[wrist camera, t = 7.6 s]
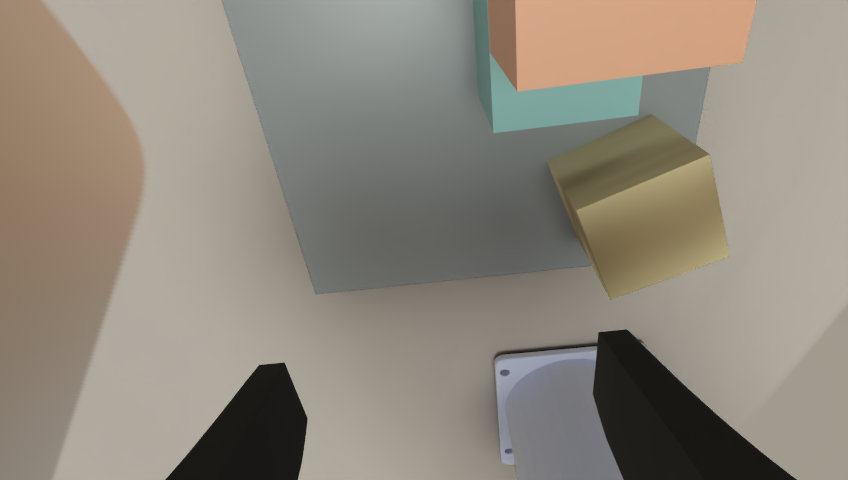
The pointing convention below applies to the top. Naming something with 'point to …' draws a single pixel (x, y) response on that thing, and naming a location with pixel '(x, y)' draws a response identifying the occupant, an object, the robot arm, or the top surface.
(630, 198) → the brick
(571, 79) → the cube brick
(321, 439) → the top surface
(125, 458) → the top surface
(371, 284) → the baseplate
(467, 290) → the top surface
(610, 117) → the base brick
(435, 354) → the top surface
